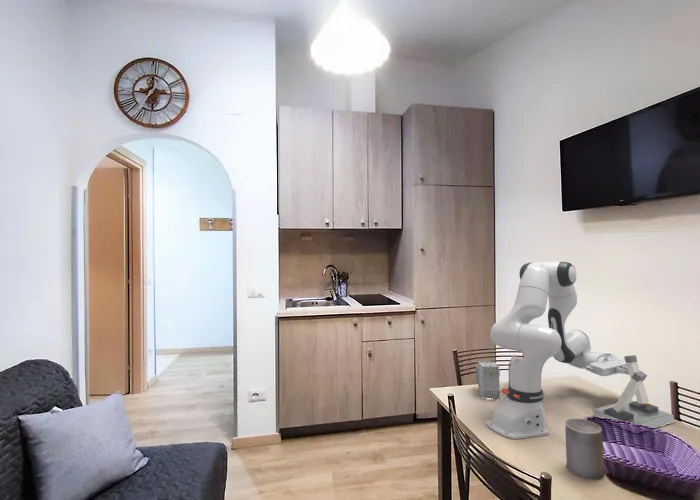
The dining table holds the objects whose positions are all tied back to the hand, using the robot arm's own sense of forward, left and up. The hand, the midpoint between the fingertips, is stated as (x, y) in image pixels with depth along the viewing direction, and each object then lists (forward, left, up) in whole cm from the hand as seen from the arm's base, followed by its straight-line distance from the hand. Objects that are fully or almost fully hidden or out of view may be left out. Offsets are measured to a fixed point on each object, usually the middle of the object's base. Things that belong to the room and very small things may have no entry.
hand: (632, 372), depth 149 cm
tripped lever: (0, -4, -11) cm, 12 cm away
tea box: (-23, +35, -17) cm, 45 cm away
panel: (-7, -4, -16) cm, 18 cm away
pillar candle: (-55, -19, -17) cm, 61 cm away
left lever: (-15, -4, -11) cm, 19 cm away
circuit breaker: (-39, +40, -17) cm, 58 cm away
